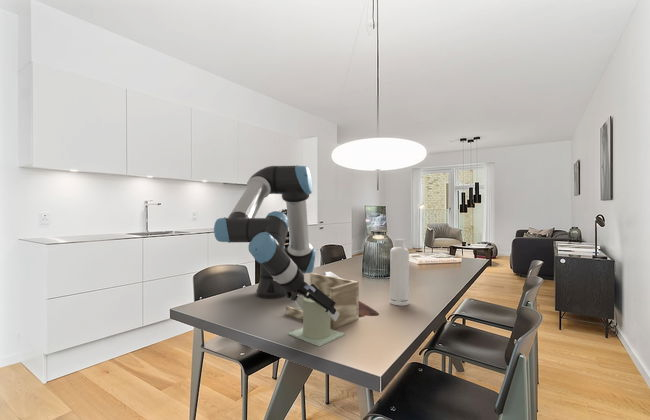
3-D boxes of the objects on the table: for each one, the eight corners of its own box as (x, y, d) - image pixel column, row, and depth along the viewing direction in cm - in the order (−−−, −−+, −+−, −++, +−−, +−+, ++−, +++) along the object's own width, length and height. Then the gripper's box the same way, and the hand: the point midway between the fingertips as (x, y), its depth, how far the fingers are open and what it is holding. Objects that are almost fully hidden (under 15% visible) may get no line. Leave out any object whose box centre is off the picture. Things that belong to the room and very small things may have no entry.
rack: (286, 314, 128) (286, 278, 127) (312, 305, 139) (312, 272, 139) (332, 329, 112) (332, 288, 111) (358, 318, 123) (358, 281, 123)
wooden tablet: (334, 297, 149) (354, 292, 152) (335, 301, 150) (355, 297, 152) (356, 315, 124) (380, 310, 127) (357, 321, 124) (380, 315, 127)
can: (335, 331, 108) (335, 295, 108) (321, 341, 100) (321, 302, 100) (312, 326, 113) (312, 292, 113) (297, 335, 105) (297, 298, 105)
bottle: (408, 306, 138) (408, 240, 138) (388, 304, 141) (389, 239, 141) (409, 301, 146) (409, 238, 146) (391, 299, 149) (391, 238, 149)
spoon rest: (350, 291, 164) (351, 277, 164) (329, 293, 160) (329, 278, 160) (332, 281, 186) (332, 269, 186) (313, 283, 182) (313, 270, 182)
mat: (288, 334, 107) (288, 332, 107) (313, 324, 116) (313, 323, 116) (319, 346, 98) (319, 344, 98) (344, 335, 107) (344, 333, 107)
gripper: (255, 278, 104) (290, 314, 115) (311, 292, 87) (345, 332, 98) (268, 260, 108) (301, 296, 119) (324, 269, 91) (356, 310, 102)
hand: (321, 312), depth 109 cm, fingers open, 13 cm apart
